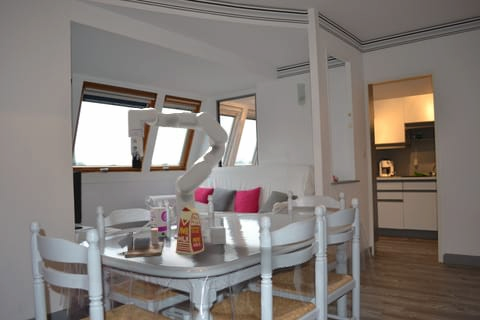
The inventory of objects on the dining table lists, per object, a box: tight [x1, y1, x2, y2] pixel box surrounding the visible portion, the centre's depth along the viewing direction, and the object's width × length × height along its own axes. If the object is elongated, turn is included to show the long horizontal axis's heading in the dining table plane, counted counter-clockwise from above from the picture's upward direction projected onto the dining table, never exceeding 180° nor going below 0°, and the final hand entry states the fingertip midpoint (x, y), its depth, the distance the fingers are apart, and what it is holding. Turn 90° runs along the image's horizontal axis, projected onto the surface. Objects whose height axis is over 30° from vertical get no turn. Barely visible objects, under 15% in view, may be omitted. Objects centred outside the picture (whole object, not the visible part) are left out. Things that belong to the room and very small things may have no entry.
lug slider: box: [150, 228, 159, 244], centre depth 168 cm, size 3×7×7 cm, turn 9°
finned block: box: [133, 236, 151, 250], centre depth 162 cm, size 6×7×4 cm
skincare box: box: [209, 225, 227, 246], centre depth 173 cm, size 6×6×7 cm
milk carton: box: [175, 204, 205, 256], centre depth 157 cm, size 9×9×20 cm
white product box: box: [150, 206, 168, 239], centre depth 197 cm, size 8×8×15 cm
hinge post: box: [126, 231, 134, 250], centre depth 161 cm, size 2×5×7 cm, turn 9°
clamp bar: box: [117, 220, 152, 249], centre depth 161 cm, size 16×3×3 cm
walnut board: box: [124, 241, 164, 258], centre depth 162 cm, size 14×23×1 cm, turn 9°
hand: (137, 168), depth 187 cm, fingers open, 9 cm apart
